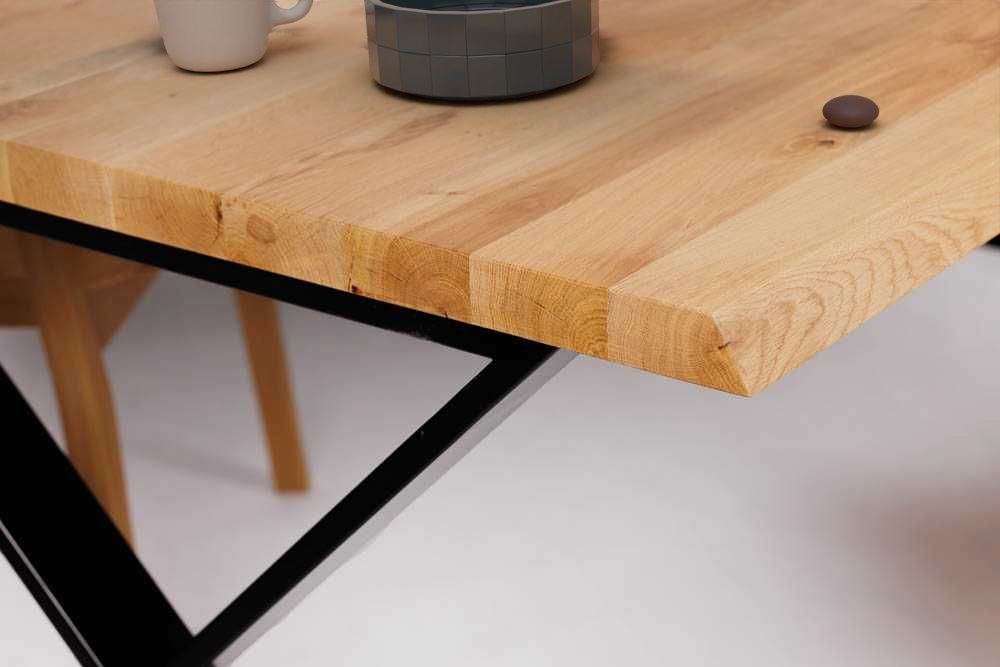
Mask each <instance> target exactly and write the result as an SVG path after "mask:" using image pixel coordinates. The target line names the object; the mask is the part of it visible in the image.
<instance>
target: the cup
mask: <svg viewBox="0 0 1000 667" xmlns="http://www.w3.org/2000/svg"><path fill="white" fill-rule="evenodd" d="M313 3H314V0H297V2H296V3H295V5H293V6H292V7H290V8H282V7H280V6H279V5H278V4H277V3H276V1H275V0H153V4H154V10H155V13H156V16H157V22H158V25H159V29H160V34H161V37H162V41H163V45H164V48H165V50H166V52H167V55H168V57H169V59H170V61H171V62H172V63H173V64H174V65H175V66H177V67H179V68H181V69H183V70H187V71H193V72H202V73H203V72H206V73H207V72H208V73H209V72H212V73H213V72H223V71H231V70H237V69H240V68H241V69H242V68H244V67H245V68H246V67H248V66H250V65H253V64H255V63H257V62H258V61H260V60H261V59H262V58H263V57H264V55H265V54H266V52H267V49H268V44H269V37H270V36H269V35H270V32H271V30H272V29H274V28H275V27H278V26H282V25H288V24H289V25H290V24H292V23H295V22H298V21H300V20H302V19H303V18H305V17H306V16H307V15H308V14H309V13H310V11H311V8H312V6H313Z"/></svg>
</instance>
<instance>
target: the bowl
mask: <svg viewBox="0 0 1000 667" xmlns="http://www.w3.org/2000/svg"><path fill="white" fill-rule="evenodd" d="M363 1H364V14H365V27H366V36H367V37H366V38H367V50H368V62H369V63H368V64H369V75H370V77H371V78H372V79H374V81H376V82H377V83H378V84H379V85H381V86H383V87H387V88H390V89H393V90H395V91H399V92H403V93H407V94H409V95H413V96H418V97H422V98H427V99H432V100H433V99H434V100H441V101H454V102H455V101H456V102H483V101H485V102H487V101H500V100H501V101H502V100H509V99H510V100H511V99H518V98H523V97H529V96H530V97H531V96H534V95H539V94H543V93H547V92H550V91H554V90H556V89H559V88H561V87H564V86H565V85H566V86H567V85H570V84H573V83H575V82H577V81H579V80H581V79H583V78H586V77H587V76H590V75H592V74H593V72H594V71H595V70H596V69H597V68H598V66H600V62H601V61H600V60H601V59H600V56H601V55H600V54H601V53H600V0H363Z"/></svg>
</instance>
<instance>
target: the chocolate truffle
mask: <svg viewBox="0 0 1000 667" xmlns="http://www.w3.org/2000/svg"><path fill="white" fill-rule="evenodd" d="M821 111H822V112H821V113H822V116H823V117H824V119H825V120H826V121H827V122H829V123H830V124H832V125H834V126H838V127H841V128H861V127H864V126H867V125H871V123H873V122H874V121H876V120H877V119H878V117H879V115H880V108H879V106H878V104H877V103H876V102H875V101H873V100H872V99H870V98H868V97H865V96H862V95H858V94H857V95H856V94H843V95H839V96H836V97H833V98H831V99H829V100H828V101H827V102H825V103H824V105H823V107H822V110H821Z"/></svg>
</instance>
